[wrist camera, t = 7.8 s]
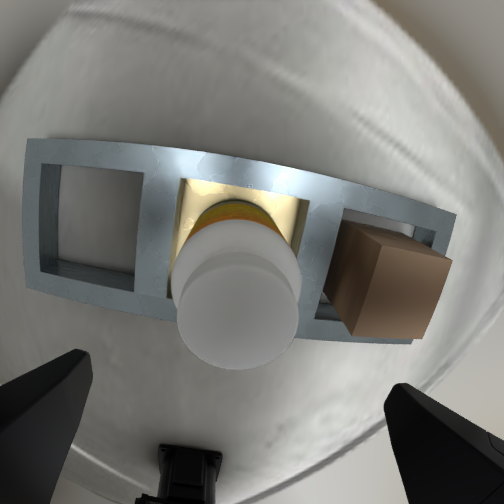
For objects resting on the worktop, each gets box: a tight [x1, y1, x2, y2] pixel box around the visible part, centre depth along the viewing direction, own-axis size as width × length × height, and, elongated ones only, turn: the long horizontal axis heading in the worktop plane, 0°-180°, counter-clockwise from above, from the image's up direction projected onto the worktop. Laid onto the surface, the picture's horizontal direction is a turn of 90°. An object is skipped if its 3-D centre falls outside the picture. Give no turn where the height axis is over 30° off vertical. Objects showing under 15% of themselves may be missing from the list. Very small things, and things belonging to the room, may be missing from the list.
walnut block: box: [323, 219, 453, 339], centre depth 17 cm, size 5×5×6 cm
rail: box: [22, 139, 457, 344], centre depth 18 cm, size 10×28×2 cm, turn 79°
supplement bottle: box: [171, 199, 301, 370], centre depth 14 cm, size 5×5×10 cm
